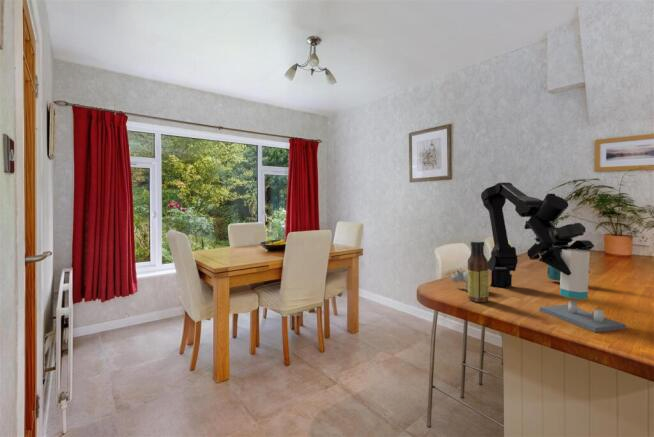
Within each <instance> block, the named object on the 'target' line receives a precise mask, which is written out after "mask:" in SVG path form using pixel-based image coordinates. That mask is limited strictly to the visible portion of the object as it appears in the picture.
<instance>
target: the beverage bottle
mask: <svg viewBox="0 0 654 437" xmlns="http://www.w3.org/2000/svg"><path fill="white" fill-rule="evenodd" d="M560 256H562V253H560ZM547 278H548V279H549V280H552V281H559V282H560V278H561V271H559V270H557V269H555V268H554V267H552V266H550V265H548V264H547Z"/></svg>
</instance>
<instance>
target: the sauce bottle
mask: <svg viewBox="0 0 654 437" xmlns="http://www.w3.org/2000/svg"><path fill="white" fill-rule="evenodd" d="M484 247H485V241H483V240H471V241H470V248H471V249H470V251H471V252H470V256H469V258H468V259H467V270H468V291H467V296H468V299H469V300H470V301H471V302H474V303H487V302H489V269H488V261H489V260H488V259H487V258H486V256H485V252H484V250H485V249H484Z"/></svg>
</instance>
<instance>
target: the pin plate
mask: <svg viewBox="0 0 654 437" xmlns="http://www.w3.org/2000/svg"><path fill="white" fill-rule="evenodd" d="M539 312H542V313H544V314H547V315H549V316H552V317H555V318H557V319H559V320H562V321H565V322H566V323H570V324H573V325H575V326H577V327H580V328H583V329H586V330H588V331H590V332H592V333H603V332H610V331H611V332H612V331H620V330H626V329H627V324H626V323H623V322H619V321H618V320H615V319H610V318H607V317H605V311H604V310H602V309H598V308H595V309H593V313H592V312H589V311H587V310H583V309H581V308H578V302H577V301H573V300H569V301H568V304H559V305H548V306H540V307H539Z"/></svg>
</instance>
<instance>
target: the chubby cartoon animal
mask: <svg viewBox="0 0 654 437" xmlns="http://www.w3.org/2000/svg"><path fill="white" fill-rule="evenodd" d="M450 275H451V281H452V282H453V283H458V282H461V283H462V282H463V283H464V282H465V284H466V285H465V292H468V269H466V270H465V271H463V270H462V268H459V269H456V272H455V273H453V272H451V273H450Z"/></svg>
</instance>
